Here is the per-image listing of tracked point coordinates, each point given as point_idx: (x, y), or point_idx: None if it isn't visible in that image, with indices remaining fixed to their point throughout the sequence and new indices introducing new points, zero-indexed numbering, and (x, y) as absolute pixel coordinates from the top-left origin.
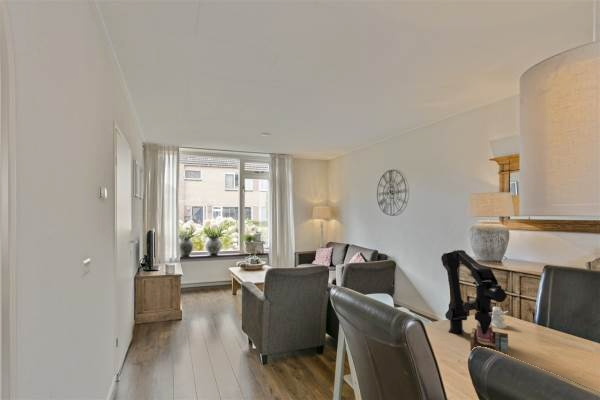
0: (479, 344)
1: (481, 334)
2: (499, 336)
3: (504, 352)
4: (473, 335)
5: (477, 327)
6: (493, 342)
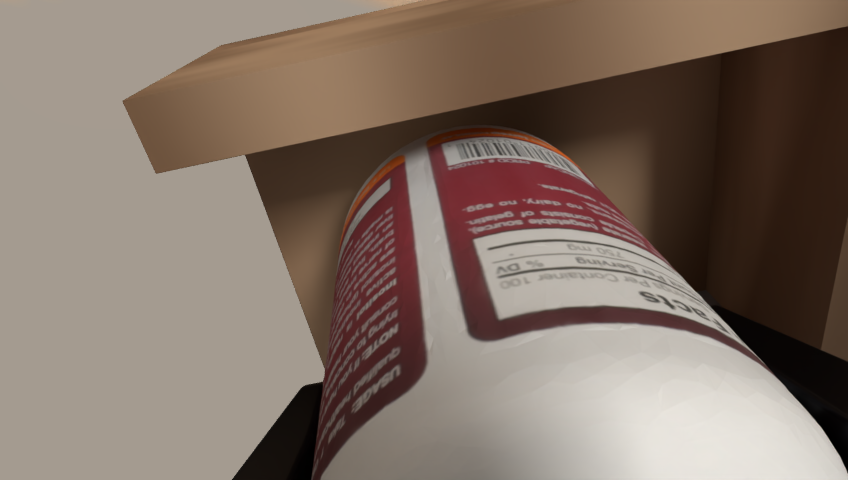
0: None
1: (329, 336)
2: None
3: None
4: (302, 133)
5: (389, 334)
6: (693, 265)
